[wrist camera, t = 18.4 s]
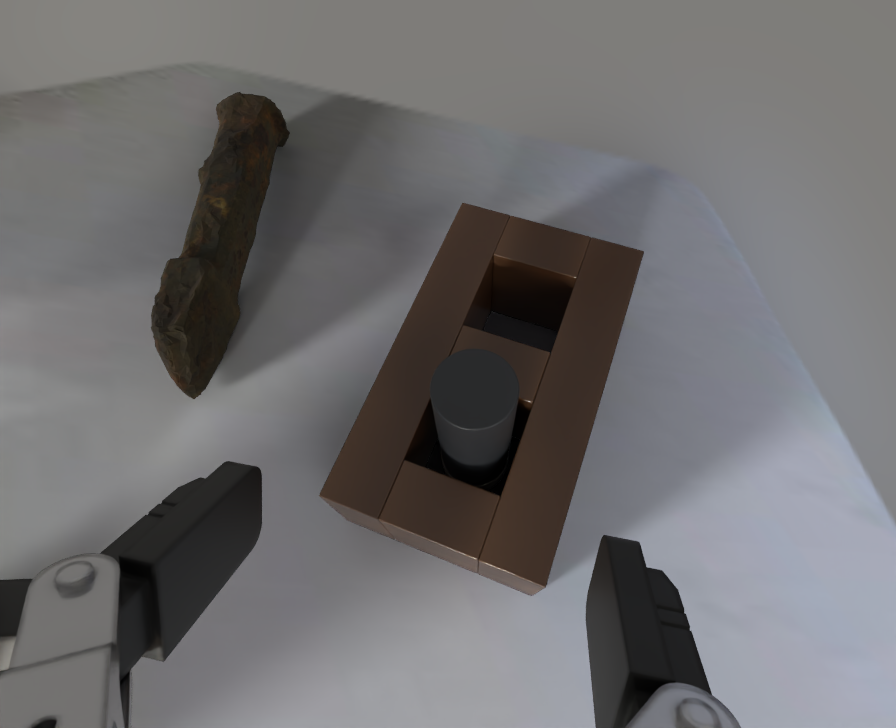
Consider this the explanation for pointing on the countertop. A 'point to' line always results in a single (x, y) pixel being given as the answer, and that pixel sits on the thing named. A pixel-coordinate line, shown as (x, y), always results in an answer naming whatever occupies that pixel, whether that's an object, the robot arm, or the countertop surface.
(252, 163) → the hand tool
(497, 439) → the dark grey cylinder
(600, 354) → the holder
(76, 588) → the robot arm
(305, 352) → the countertop surface
